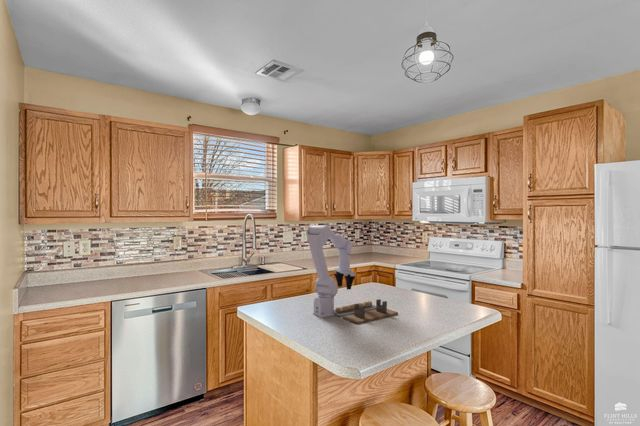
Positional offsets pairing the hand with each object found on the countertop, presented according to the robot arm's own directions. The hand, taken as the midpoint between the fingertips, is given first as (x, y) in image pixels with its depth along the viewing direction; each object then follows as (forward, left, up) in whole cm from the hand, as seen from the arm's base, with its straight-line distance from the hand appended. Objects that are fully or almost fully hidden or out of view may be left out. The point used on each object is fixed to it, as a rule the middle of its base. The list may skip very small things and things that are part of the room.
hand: (344, 287), depth 179 cm
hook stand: (-1, -21, -10) cm, 23 cm away
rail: (-1, -9, -9) cm, 13 cm away
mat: (-1, -9, -10) cm, 13 cm away
